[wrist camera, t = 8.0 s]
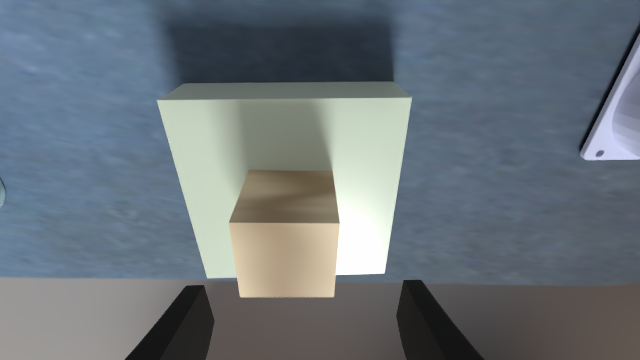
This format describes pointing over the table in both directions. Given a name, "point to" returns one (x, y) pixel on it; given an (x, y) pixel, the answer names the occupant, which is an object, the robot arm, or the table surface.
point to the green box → (290, 156)
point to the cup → (2, 193)
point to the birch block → (286, 234)
